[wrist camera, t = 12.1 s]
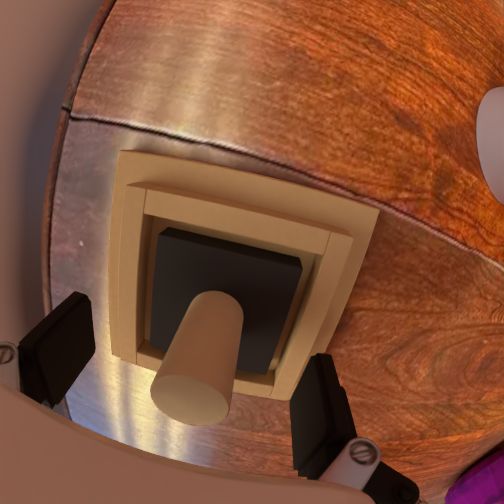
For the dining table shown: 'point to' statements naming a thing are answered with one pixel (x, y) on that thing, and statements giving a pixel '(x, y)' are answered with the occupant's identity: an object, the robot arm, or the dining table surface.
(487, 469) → the decorative plant
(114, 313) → the base pad
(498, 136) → the wedge on round base
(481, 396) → the dining table surface
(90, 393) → the dining table surface
